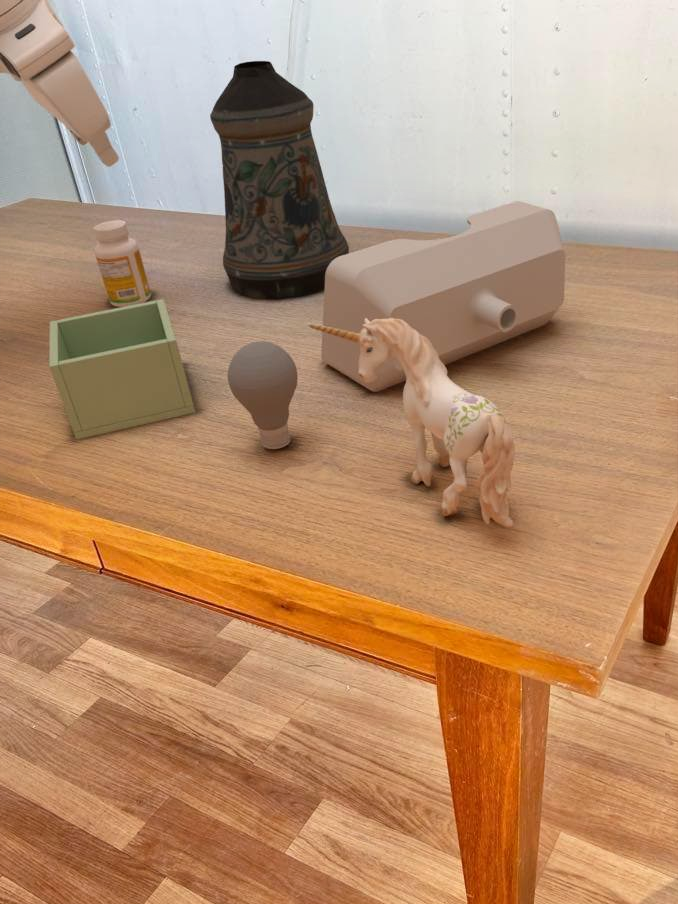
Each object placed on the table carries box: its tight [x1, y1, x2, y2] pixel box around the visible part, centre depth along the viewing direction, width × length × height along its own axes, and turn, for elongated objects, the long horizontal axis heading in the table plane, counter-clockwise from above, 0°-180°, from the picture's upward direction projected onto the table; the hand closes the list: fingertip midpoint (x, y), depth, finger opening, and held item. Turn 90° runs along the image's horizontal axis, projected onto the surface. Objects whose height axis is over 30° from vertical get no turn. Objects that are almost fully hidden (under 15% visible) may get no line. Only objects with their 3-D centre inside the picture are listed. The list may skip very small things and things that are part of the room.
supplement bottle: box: [93, 219, 152, 308], centre depth 108 cm, size 5×5×10 cm
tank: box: [320, 200, 566, 393], centre depth 86 cm, size 25×16×12 cm, turn 125°
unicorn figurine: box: [306, 318, 516, 528], centre depth 66 cm, size 7×20×13 cm, turn 46°
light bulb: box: [227, 341, 298, 450], centre depth 75 cm, size 6×6×10 cm
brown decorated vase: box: [209, 60, 350, 301], centre depth 106 cm, size 16×19×25 cm
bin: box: [48, 298, 196, 440], centre depth 85 cm, size 12×12×8 cm
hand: (98, 151), depth 99 cm, fingers open, 8 cm apart
